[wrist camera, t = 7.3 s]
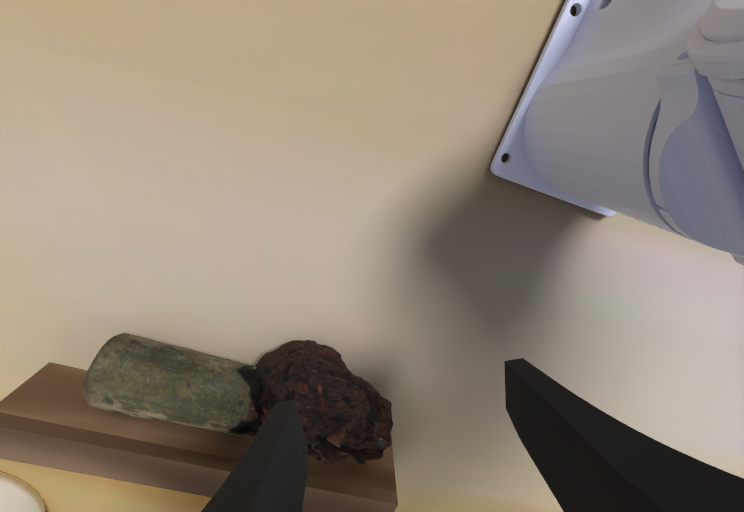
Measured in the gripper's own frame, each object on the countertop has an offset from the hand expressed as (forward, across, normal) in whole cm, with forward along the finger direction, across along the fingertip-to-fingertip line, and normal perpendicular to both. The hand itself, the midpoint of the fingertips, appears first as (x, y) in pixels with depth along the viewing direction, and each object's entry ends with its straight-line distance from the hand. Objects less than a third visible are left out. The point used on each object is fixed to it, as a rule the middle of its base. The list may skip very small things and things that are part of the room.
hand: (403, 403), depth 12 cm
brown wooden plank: (+11, +12, +9) cm, 19 cm away
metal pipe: (+11, +8, +5) cm, 15 cm away
